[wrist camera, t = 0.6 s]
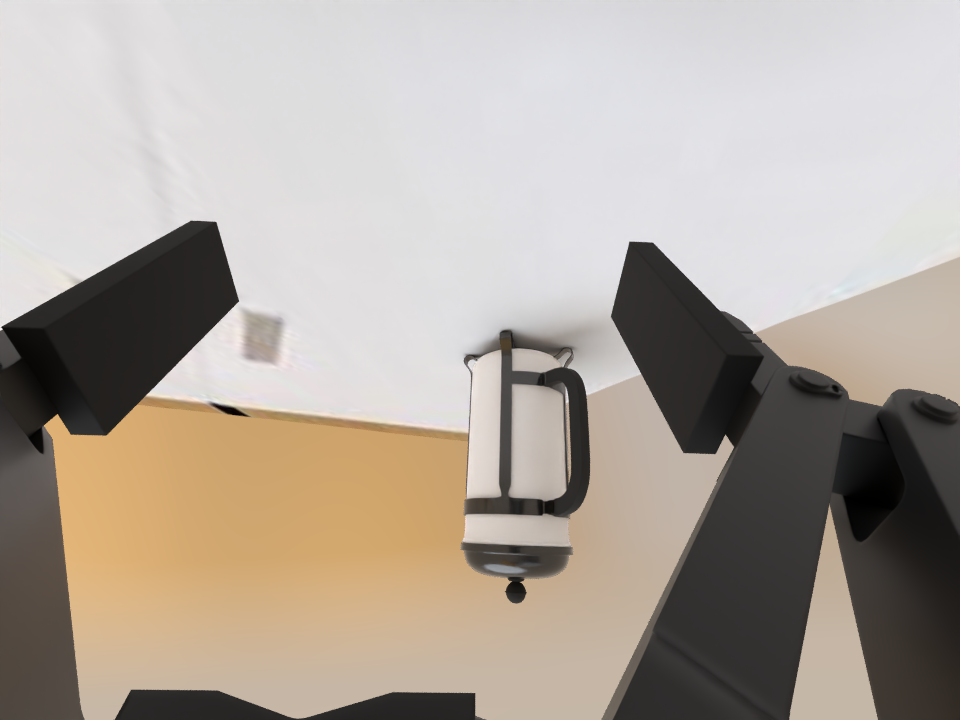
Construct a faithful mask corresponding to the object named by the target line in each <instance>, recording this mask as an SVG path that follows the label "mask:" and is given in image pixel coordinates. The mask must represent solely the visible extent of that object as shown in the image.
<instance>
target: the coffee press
mask: <svg viewBox="0 0 960 720" xmlns="http://www.w3.org/2000/svg"><path fill="white" fill-rule="evenodd" d="M500 345H501V350H497V351H493V352H490V353H488V354H486V355H484V356H482V357H481V358H479V359H478V360H477V359H476V358H475V357H473V356H472V355H468V356H466V357H465V358H464V363H465V365H466V366H467V367H468V361H469V360H471V359H474V360H475V361H476V363H475V364H474V367H473V372H472V371H471V369H470V368H469V367H468V369H469V371H470V373H471V395H470V416H469V437H468V458H467V479H466V500H465V502H464V515H465V516H466V519H465V520H466V521H465V536H464V539H463V540H462V542H463V543H461V550H464V554H465V558H466V561H467V563H468V564H469V566H470V567H471V568H472V569H473V570H475V571H477V572H479V573H481V574H484V575H489V576H494V577H502V578H508V580H509V581H512V582H511V583H510V584H509V585H508V586H507V589H506V591H505V592H506V595H507V598H508V599H509V600H510V601H511V602H512V603H520V602H522V601H523V600H524V598H525V595H526V590H525V587H524V586H523V584H522V583H520V582H521V581H524V579H539V578H548V577H553V576H556V575H558V574H559V573H561V572H562V571H563V570H564V569H565V568H566V566H567V564H568V560H569V555H573V548H572V547H571V544H570V542H569V528H568V519H570V514H571V513H573V512H575V511H576V510H577V509H578V508H579V507H580V506H581V504H582V503H583V501H584V498H585V496H586V493H587V489H588V485H589V478H590V477H589V476H590V448H589V428H588V411H587V399H586V391H585V386H584V383H583V380H582V378H581V377H580V375H579V374H578V373H577V372H576V371H574V370H572V369H568V368H567V367H568V365H569V364H570V363H571V361H572V360H573V358H574V355H573V351H572V349H570V348H564V349H562V350H561V351H560V352H559V353H558V354H557V355H556V356H554V357H553V356H551V355H549V354H547V353H544V352H541V351H537V350H531V349H519V348H515V346H514V341H513V335H512V332H500ZM566 352H569V353H571V356H570V357H569V359H568V360H567V361H566V363H565V365H564V367H562V366H561V364H560V363H559V361H558V359H559V358H560V357H561V356H562V355H563V354H565V353H566ZM566 388H567V391H568V397H569V414H570V415H569V417H570V442H571V477H570V482H569V470H568V442H567V414H566Z"/></svg>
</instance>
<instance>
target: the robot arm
mask: <svg viewBox="0 0 960 720" xmlns="http://www.w3.org/2000/svg"><path fill="white" fill-rule="evenodd" d="M238 302H239V300H238V296H237V293H236V289H235V286H234V282H233V279H232V275H231V272H230V268H229V265H228V261H227V258H226V254H225V251H224V247H223V244H222V240H221V237H220V233H219V230H218V226H217V223H216V222H207V221H190V222H188V223H186V224H185V225H183V226H181V227H179V228H177V229H176V230H174V231H172V232H170V233H168V234H167V235H165V236H163V237H161V238H160V239H158V240H156V241H154V242H152V243H151V244H149V245H147V246H145V247H143V248H142V249H140V250H138V251H136V252H134V253H133V254H131V255H129V256H127V257H126V258H124V259H122V260H120V261H118V262H117V263H115V264H113V265H111V266H109V267H108V268H106V269H104V270H102V271H100V272H99V273H97V274H95V275H93V276H92V277H90V278H88V279H86V280H84V281H83V282H81V283H79V284H77V285H75V286H74V287H72V288H70V289H68V290H67V291H65V292H63V293H61V294H59V295H58V296H56V297H54V298H52V299H50V300H49V301H47V302H45V303H43V304H41V305H40V306H38V307H36V308H34V309H33V310H31V311H29V312H27V313H25V314H24V315H22V316H20V317H18V318H16V319H15V320H13V321H11V322H9V323H7V324H6V325H4V326H2V329H3V330H1V331H0V720H84V717H83V714H82V711H81V705H80V698H79V688H78V678H77V670H76V660H75V650H74V640H73V631H72V621H71V611H70V602H69V592H68V583H67V573H66V564H65V554H64V545H63V535H62V525H61V516H60V506H59V497H58V487H57V478H56V468H55V458H54V449H53V439H52V437H51V436H50V434H49V433H48V432H47V430H46V429H45V427H44V425H45V424H46V423H47V422H48V421H50V419H52V418H53V417H54V416H55V415H57V414H58V415H59V417H60V418H61V420H62V421H63V423H64V425H65V426H66V428H67V429H68V431H69V432H70V434H71V435H73V434H74V435H107V434H108V433H109V432H110V431H111V430H112V429H113V428H114V427H115V426H116V425H117V424H118V423H119V422H120V421H121V420H122V419H123V418H124V417H125V416H126V415H127V414H128V413H129V412H130V411H131V410H132V409H133V408H134V407H135V406H136V405H137V404H138V403H139V402H140V401H141V400H142V399H143V398H144V397H145V396H146V395H147V394H148V393H149V392H150V391H151V390H152V389H153V388H154V387H155V386H156V385H157V384H158V383H159V382H160V381H161V380H162V379H163V378H164V377H165V376H166V375H167V374H168V373H169V372H170V371H171V370H172V369H173V368H174V367H175V366H176V365H177V364H178V362H179V361H180V360H181V359H182V358H183V357H184V356H185V355H186V354H187V353H188V352H189V351H190V350H191V349H192V348H193V347H194V346H195V345H196V344H197V343H198V342H199V341H200V340H201V339H202V338H203V337H204V336H205V335H206V334H207V333H208V332H209V331H210V330H211V329H212V328H213V327H214V326H215V325H216V324H217V323H218V322H219V321H220V320H221V319H222V318H223V317H224V316H225V315H226V314H227V313H228V312H229V311H230V310H231V309H232V308H233V307H234V306H235V305H236V304H237V303H238ZM611 318H612V319H613V321H614V323H615V325H616V327H617V329H618V331H619V333H620V335H621V336H622V338H623V340H624V342H625V344H626V346H627V348H628V350H629V351H630V353H631V355H632V357H633V359H634V361H635V363H636V365H637V366H638V368H639V370H640V372H641V374H642V376H643V378H644V380H645V381H646V383H647V385H648V387H649V389H650V391H651V393H652V395H653V397H654V398H655V400H656V402H657V404H658V406H659V408H660V409H661V412H662V413H663V415H664V417H665V419H666V421H667V422H668V424H669V426H670V429H671V430H672V432H673V434H674V436H675V438H676V440H677V442H678V443H679V445H680V447H681V449H682V451H683V453H700V454H716V452H717V450H718V448H719V446H720V444H721V442H722V440H723V438H724V436H725V434H726V436H727V437H728V439H729V440H730V442H731V443H732V445H733V446H734V449H733V451H732V453H731V455H730V456H729V458H728V460H727V462H726V464H725V466H724V468H723V470H722V472H721V473H720V475H719V477H718V479H717V483H716V485H715V487H714V489H713V491H712V493H711V495H710V498H709V499H708V501H707V503H706V506H705V508H704V510H703V512H702V514H701V516H700V518H699V520H698V522H697V524H696V526H695V528H694V530H693V532H692V534H691V537H690V538H689V541H688V543H687V545H686V547H685V549H684V551H683V553H682V555H681V557H680V559H679V561H678V563H677V566H676V567H675V569H674V571H673V574H672V576H671V578H670V580H669V582H668V584H667V586H666V588H665V590H664V592H663V594H662V597H661V598H660V600H659V603H658V604H657V606H656V609H655V611H654V613H653V615H652V617H651V619H650V621H649V623H648V625H647V627H646V629H645V631H644V633H643V635H642V637H641V639H640V641H639V644H638V646H637V648H636V650H635V652H634V654H633V656H632V658H631V660H630V662H629V664H628V666H627V668H626V671H625V672H624V674H623V676H622V679H621V681H620V683H619V685H618V687H617V689H616V691H615V693H614V695H613V697H612V699H611V701H610V704H609V705H608V707H607V709H606V711H605V713H604V716H603V718H602V720H789V716H790V709H791V704H792V698H793V693H794V688H795V683H796V677H797V672H798V667H799V661H800V656H801V650H802V646H803V640H804V635H805V630H806V624H807V619H808V613H809V608H810V603H811V598H812V593H813V587H814V582H815V577H816V572H817V566H818V561H819V556H820V550H821V545H822V540H823V535H824V529H825V524H826V519H827V514H828V508H829V503H830V507H831V512H832V517H833V521H834V525H835V530H836V534H837V539H838V543H839V548H840V552H841V556H842V561H843V565H844V570H845V574H846V579H847V583H848V588H849V592H850V596H851V601H852V606H853V610H854V615H855V619H856V623H857V628H858V632H859V637H860V641H861V646H862V650H863V655H864V659H865V664H866V668H867V672H868V677H869V681H870V685H871V690H872V695H873V699H874V703H875V708H876V712H877V717H878V720H960V406H958V404H957V403H956V402H953V401H951V400H950V399H947V400H946V398H945V397H942V396H940V395H937V394H930V393H926V392H924V391H918V390H912V389H899V390H896V391H895V392H893V393H892V394H891V396H890V397H889V398H888V400H887V401H886V402H885V404H884V405H883V406H877V405H873V404H868V403H864V402H859V401H854V400H850V399H849V396H848V392H847V391H846V390H845V389H844V388H843V386H841V385H840V384H839V383H838V382H836V381H835V380H833V379H832V378H830V377H828V376H826V375H824V374H822V373H819V372H817V371H814V370H810V369H807V368H803V367H797V366H788V365H787V364H786V363H784V361H783V360H781V359H780V358H779V357H778V356H777V355H776V354H775V353H774V352H773V351H772V350H771V349H770V348H769V347H768V346H767V345H766V344H765V343H762V340H761V339H760V338H759V337H758V336H757V335H756V334H753V331H752V330H751V329H750V328H749V327H748V326H747V325H746V324H744V323H743V322H742V321H741V320H739V319H737V318H736V317H734V316H732V315H730V314H728V313H727V312H723V311H719V310H718V309H717V308H716V307H715V306H714V305H713V303H712V302H711V301H710V300H709V299H708V298H707V297H706V296H705V295H704V294H703V293H702V292H701V291H700V290H699V289H698V288H697V287H696V286H695V285H694V284H693V283H692V282H691V281H690V280H689V279H688V278H687V277H686V276H685V275H684V274H683V273H682V272H681V271H680V270H679V269H678V268H677V267H676V266H675V265H674V264H673V263H672V262H671V261H670V260H669V259H668V258H667V257H666V256H665V255H664V254H663V253H662V252H661V250H660V249H659V248H658V247H657V246H656V245H655V244H654V243H648V242H629V246H628V250H627V254H626V258H625V262H624V266H623V270H622V274H621V278H620V282H619V286H618V290H617V294H616V298H615V302H614V306H613V310H612V314H611ZM115 720H485V719H482V718H480V717H477V716H475V693H407V692H406V693H405V692H403V693H402V692H392V693H389V694H385V695H383V696H379V697H375V698H372V699H369V700H365V701H362V702H358V703H355V704H352V705H348V706H345V707H342V708H338V709H335V710H331V711H328V712H324V713H321V714H318V715H314V716H311V717H307V718H302V719H295V718H291V717H287V716H285V715H282V714H279V713H277V712H274V711H271V710H268V709H266V708H263V707H260V706H258V705H255V704H252V703H249V702H247V701H244V700H241V699H238V698H236V697H233V696H230V695H228V694H225V693H222V692H220V691H208V690H207V691H205V690H131V691H130V693H129V695H128V696H127V698H126V700H125V702H124V704H123V706H122V708H121V710H120V711H119V713H118V715H117V717H116V718H115Z"/></svg>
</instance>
